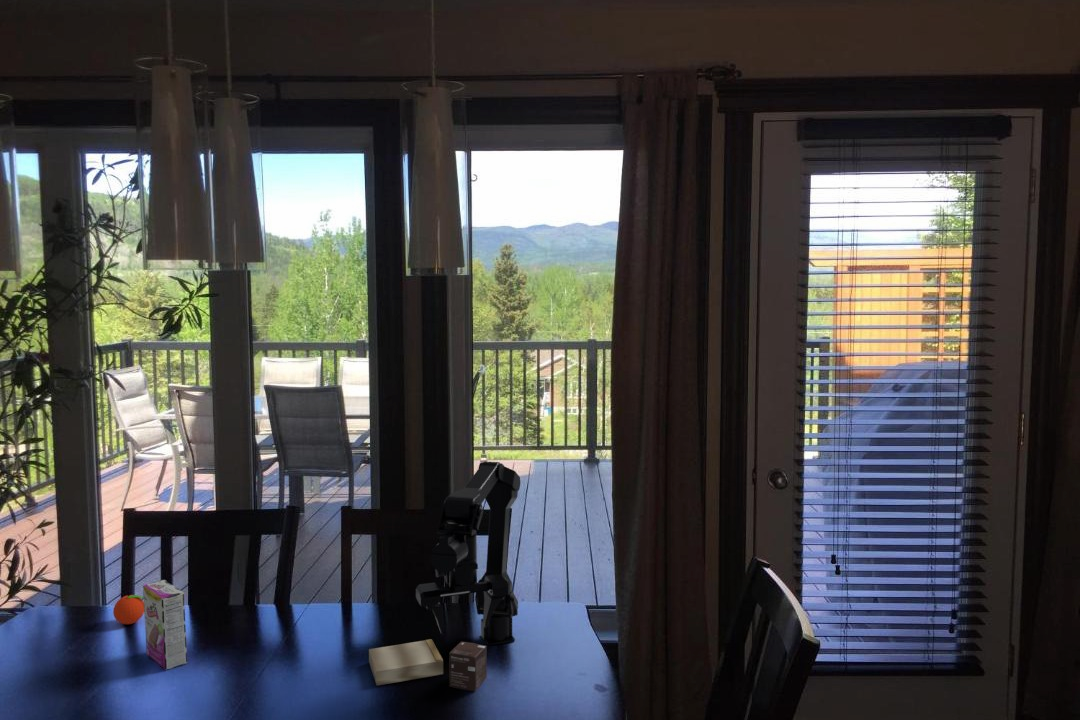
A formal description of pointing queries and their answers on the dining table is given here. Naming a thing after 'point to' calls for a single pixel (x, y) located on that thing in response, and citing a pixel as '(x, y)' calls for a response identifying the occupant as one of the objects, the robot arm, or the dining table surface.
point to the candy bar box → (165, 624)
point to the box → (467, 666)
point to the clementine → (129, 609)
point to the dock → (405, 662)
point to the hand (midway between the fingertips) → (463, 630)
